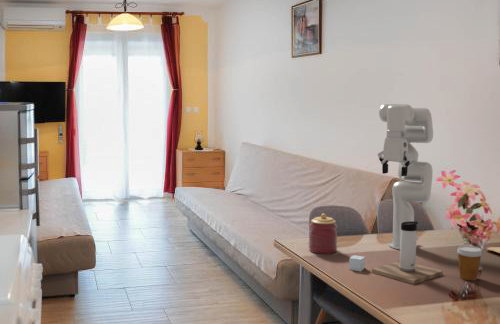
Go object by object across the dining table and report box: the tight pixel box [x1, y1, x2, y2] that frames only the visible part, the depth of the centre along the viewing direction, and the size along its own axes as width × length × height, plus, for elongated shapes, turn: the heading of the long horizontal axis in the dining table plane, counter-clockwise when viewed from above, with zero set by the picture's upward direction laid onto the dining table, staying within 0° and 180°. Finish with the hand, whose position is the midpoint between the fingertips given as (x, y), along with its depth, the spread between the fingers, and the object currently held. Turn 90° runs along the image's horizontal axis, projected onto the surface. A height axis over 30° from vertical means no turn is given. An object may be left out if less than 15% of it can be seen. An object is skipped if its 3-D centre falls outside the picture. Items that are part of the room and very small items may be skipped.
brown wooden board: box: [371, 260, 444, 285], centre depth 242 cm, size 20×20×2 cm
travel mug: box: [399, 220, 419, 272], centre depth 241 cm, size 6×7×20 cm
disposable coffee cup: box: [456, 245, 483, 281], centre depth 236 cm, size 10×10×12 cm
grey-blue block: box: [348, 254, 366, 272], centre depth 248 cm, size 5×5×5 cm
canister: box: [308, 213, 338, 255], centre depth 276 cm, size 13×13×18 cm
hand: (394, 174), depth 254 cm, fingers open, 9 cm apart
